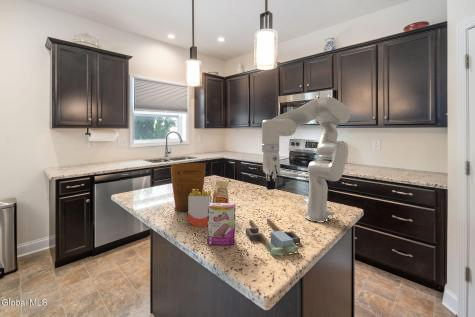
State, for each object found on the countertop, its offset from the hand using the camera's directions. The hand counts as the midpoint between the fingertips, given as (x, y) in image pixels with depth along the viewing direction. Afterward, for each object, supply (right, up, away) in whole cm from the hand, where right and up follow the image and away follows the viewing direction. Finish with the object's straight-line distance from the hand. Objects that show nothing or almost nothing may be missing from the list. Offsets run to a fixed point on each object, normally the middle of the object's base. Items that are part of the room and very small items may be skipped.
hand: (270, 189), depth 108 cm
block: (+3, -22, -11) cm, 25 cm away
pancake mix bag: (-43, -17, +32) cm, 56 cm away
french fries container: (-33, -19, +12) cm, 40 cm away
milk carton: (-24, -18, +25) cm, 39 cm away
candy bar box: (-21, -21, -8) cm, 31 cm away
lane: (0, -21, -1) cm, 21 cm away
